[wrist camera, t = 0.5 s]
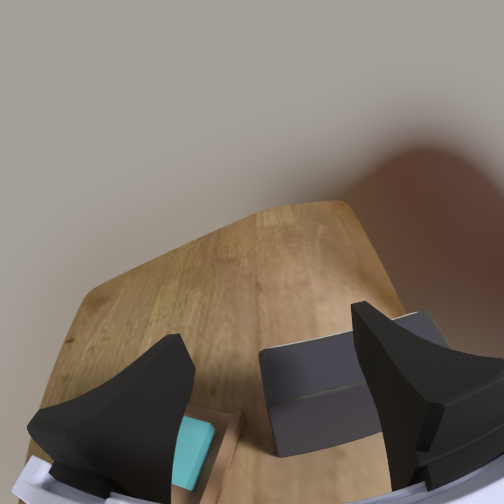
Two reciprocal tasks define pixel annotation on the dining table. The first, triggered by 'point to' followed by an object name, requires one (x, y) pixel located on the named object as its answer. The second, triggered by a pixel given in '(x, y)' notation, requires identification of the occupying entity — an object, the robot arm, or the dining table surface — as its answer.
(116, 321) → the dining table surface
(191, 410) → the walnut box
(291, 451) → the calculator
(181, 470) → the cover plate
